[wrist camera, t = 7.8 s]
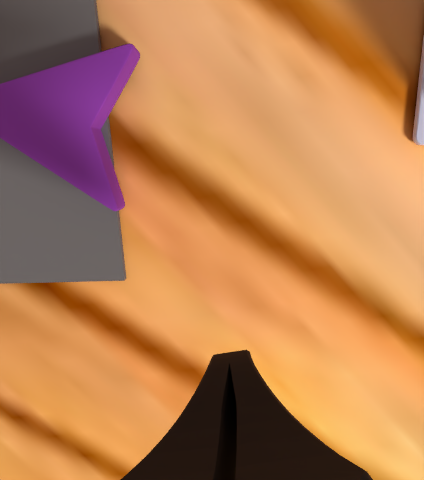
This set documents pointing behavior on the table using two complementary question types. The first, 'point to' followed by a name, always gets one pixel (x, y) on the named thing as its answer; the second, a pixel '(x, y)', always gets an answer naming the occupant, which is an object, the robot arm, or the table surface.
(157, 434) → the table surface
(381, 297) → the table surface
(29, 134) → the arrowhead
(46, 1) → the mat
